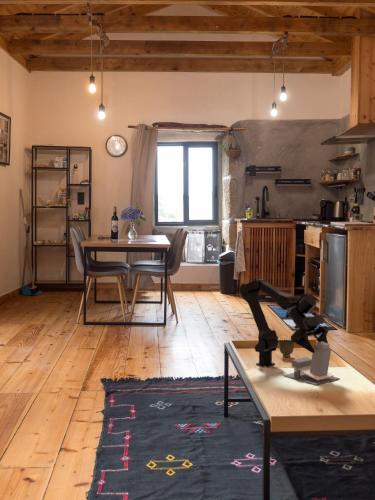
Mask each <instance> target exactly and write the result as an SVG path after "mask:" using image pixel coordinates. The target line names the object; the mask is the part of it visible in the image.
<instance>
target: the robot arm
mask: <svg viewBox="0 0 375 500" xmlns="http://www.w3.org/2000/svg"><path fill="white" fill-rule="evenodd" d="M238 290H239V294H240V295H241V297H242V299H243V300H244V301H245V302H246V303H247V304H248V306H249V308H250V312H251V314H252V317H253V320H254V322H255V325H256V328H257V329H258V335H257V338H258V339H257V340H258V342H257V344H255V346H254V351H255V352H257V353H258V362H257V363H255V365H256V366H262V367H272V366H274V365H276V363H275V362H273V352H275V351H276V350H277V348H278V346H279V336H278V335H277V331H276V330H275V329H273V330H272V329H271V328H270V326H269V324H268V321H267V319H266V316H265V313H264V311H263V309H262V308H263V307H262V306H261V304H260V300H259V298H260V297H259V296H260V292H259V291H261V292H263V293H265V294H266V295H267V296H269V297H270V298H272V299H273V300H275V302H276V304H277V305H278V306H279V307H280V308H281V309H282V310H289V311H286V313H285V314H286V315H285V319H290V318H291V320H292V321H293V323H294V329H296V330H295V331H294V332H293V333H292V335H291V336H290V341H292V342H293V343H294V344H295V345H298V346H300V347H302V348H304V349H306V350H307V351H308V352H310V353H312V354H313V353H314V352H315V351H314V349H313V347H314V346H313V345H312V343H311V342H310V340H309V337H312V336H313V337H314V338H315V339H316V342H322V341H323V342H325V343H328V344H329V342H328V338H327V336H328V333H329V331H330V328H329V327H328V326H327V325H323V324H324V322H325V317H324V316H323V315H322V314H318V315H315V316H313V317H307V315H306V314H309V313H310V311H312V309H314V307H315V306H317V301H316V299H315V298H314V297H313V296H312V295H309V293H307V292H304V293H302V294H301V296H300V297H299V298H298V297H297V296H296V295H294V294H291V293H287V292H284V291H282V290H280V289H279V288H277V287H275V286H274V285H273V284H271V283H270V282H268V281H267V280H266V279H263V278H261V279H255V280H254V281H251V282H248V283H241V285H240V286H239V289H238ZM319 325H320V326H319Z"/></svg>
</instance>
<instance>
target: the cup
mask: <svg viewBox="0 0 375 500" xmlns="http://www.w3.org/2000/svg"><path fill="white" fill-rule="evenodd" d="M278 342H279V343H278V346H279V351H280V353H281V354H282V357H283V358H284V359H288V357H289V358H290V357H291V354H292V353H293V351H294V346H295V343H293V342H292V341H291V339H278Z"/></svg>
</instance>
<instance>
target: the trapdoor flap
mask: <svg viewBox="0 0 375 500" xmlns="http://www.w3.org/2000/svg"><path fill="white" fill-rule="evenodd" d="M311 361H312V358H310V357H308V356H305V357H300V358H296V359H295V358H294V359H292V361H291V365H290V368H292V369H293V370H294V369H295V368H297V369H300V372H302V373H304V374H306V375H308V376H310V377H312V378H314V379H316V380H321V379H325V378H329V377H335V375H334V374H332V373H330V372H328V373H327V375H325V376H321V377H319V376H316V375H314V374H312V373H310V367H311Z"/></svg>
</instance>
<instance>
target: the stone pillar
mask: <svg viewBox="0 0 375 500" xmlns="http://www.w3.org/2000/svg"><path fill="white" fill-rule="evenodd" d="M312 347H313V349H314V351H315V352H314V353H312V355H311V359H312V361H311V367H310V373H312V374H314V375H316V376H319V377H321V376H325V375H327V373H329V366H330V359H331V353H332V348H330V343H329V342H328V343H325V342H323V341H322V342H318V341H316V345H315V346H312Z"/></svg>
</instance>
